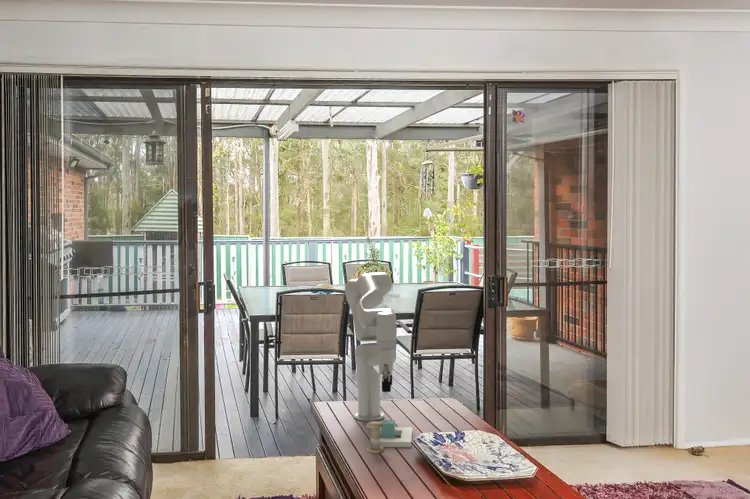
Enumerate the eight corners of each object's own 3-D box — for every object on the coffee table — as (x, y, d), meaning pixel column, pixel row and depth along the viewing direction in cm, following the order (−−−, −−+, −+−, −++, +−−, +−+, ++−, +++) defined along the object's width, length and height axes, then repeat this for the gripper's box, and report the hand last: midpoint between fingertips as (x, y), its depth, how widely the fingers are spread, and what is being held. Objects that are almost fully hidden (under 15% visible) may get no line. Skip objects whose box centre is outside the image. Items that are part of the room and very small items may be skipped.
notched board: (377, 432, 301) (377, 427, 301) (412, 432, 300) (412, 427, 300) (373, 446, 283) (373, 441, 283) (410, 447, 282) (410, 441, 282)
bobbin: (367, 447, 283) (367, 421, 282) (383, 447, 282) (383, 421, 281) (366, 453, 277) (365, 426, 276) (382, 453, 276) (382, 426, 275)
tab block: (382, 437, 295) (382, 419, 294) (395, 437, 294) (394, 419, 294) (381, 441, 290) (381, 423, 289) (394, 441, 289) (394, 423, 289)
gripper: (378, 339, 298) (379, 382, 300) (374, 349, 281) (375, 394, 283) (397, 339, 298) (398, 382, 299) (395, 349, 281) (395, 394, 282)
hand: (387, 388), depth 291 cm, fingers open, 9 cm apart
